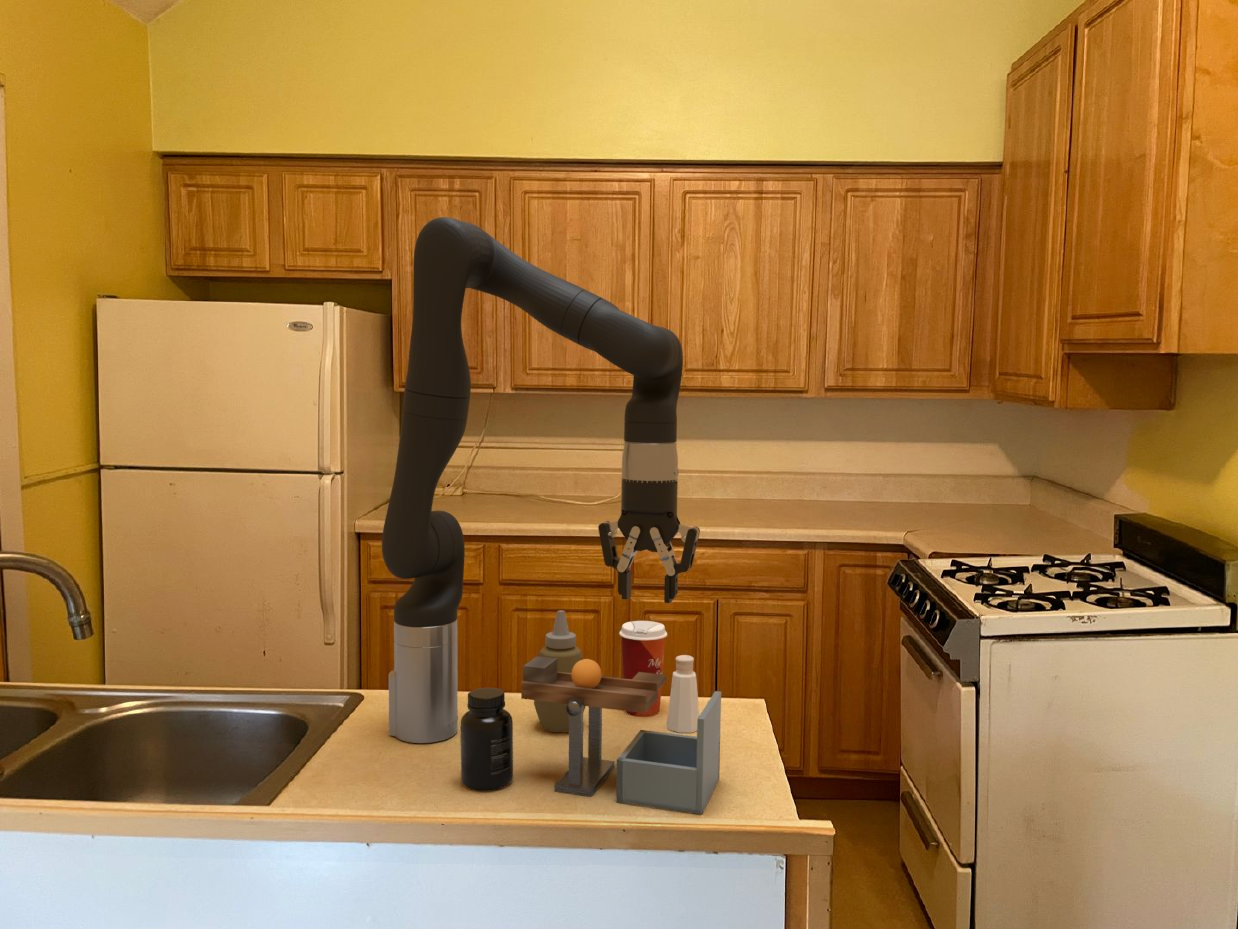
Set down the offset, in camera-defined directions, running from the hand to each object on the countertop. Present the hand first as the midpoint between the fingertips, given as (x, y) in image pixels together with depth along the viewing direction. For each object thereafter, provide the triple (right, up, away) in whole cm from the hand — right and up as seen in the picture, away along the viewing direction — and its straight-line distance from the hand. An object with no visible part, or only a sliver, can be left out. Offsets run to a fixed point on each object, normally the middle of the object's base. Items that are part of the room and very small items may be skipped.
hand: (647, 599), depth 128 cm
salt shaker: (+6, -22, +17) cm, 29 cm away
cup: (+3, -24, -6) cm, 25 cm away
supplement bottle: (-21, -24, -3) cm, 32 cm away
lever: (-7, -12, 0) cm, 14 cm away
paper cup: (0, -22, +25) cm, 33 cm away
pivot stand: (-8, -24, -2) cm, 25 cm away
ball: (-8, -9, -3) cm, 13 cm away
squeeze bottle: (-13, -22, +17) cm, 31 cm away
